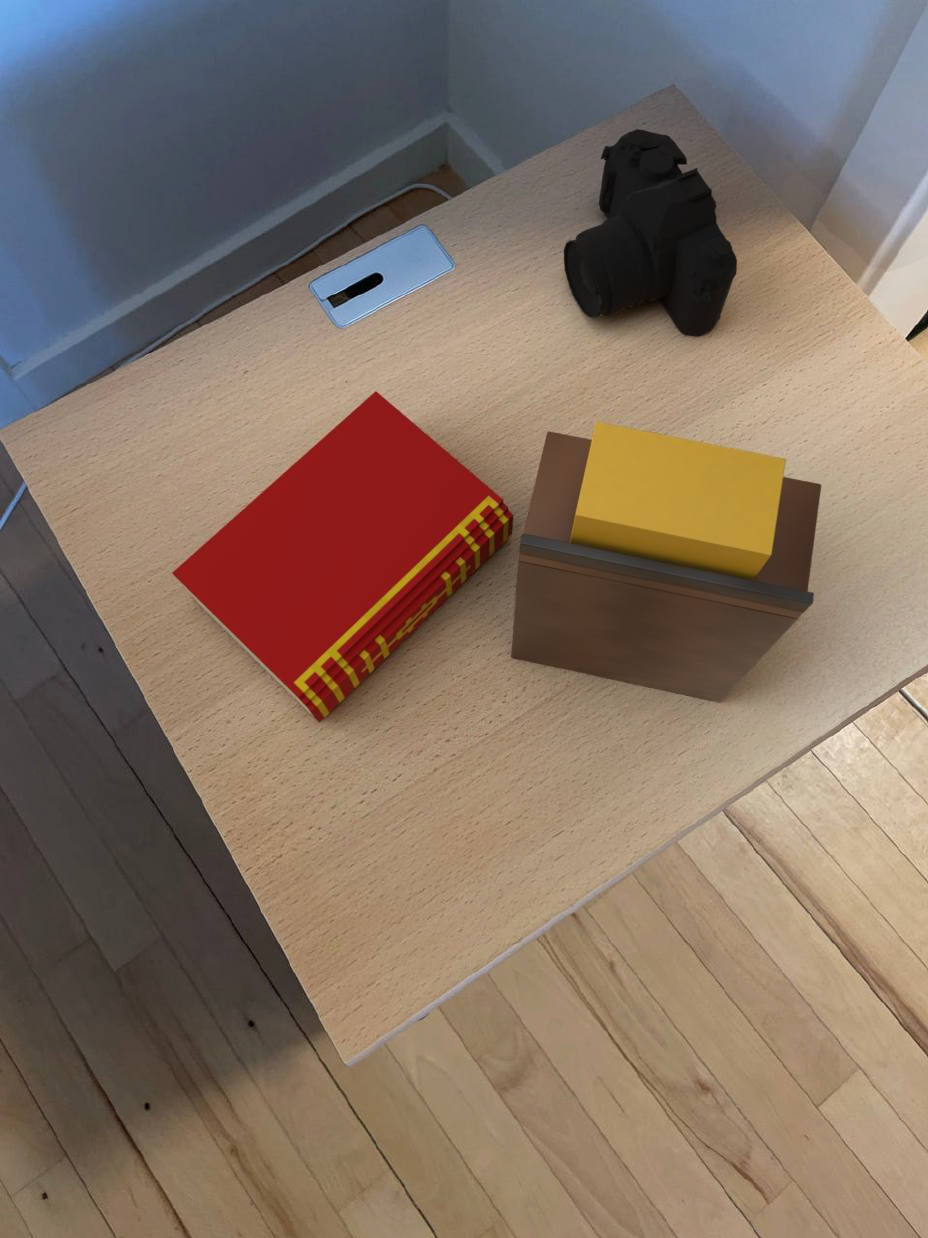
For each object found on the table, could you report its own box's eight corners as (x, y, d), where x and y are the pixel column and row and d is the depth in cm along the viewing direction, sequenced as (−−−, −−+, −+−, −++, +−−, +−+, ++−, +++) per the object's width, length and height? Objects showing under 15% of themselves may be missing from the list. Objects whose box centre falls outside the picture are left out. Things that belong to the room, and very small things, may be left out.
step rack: (748, 525, 68) (829, 392, 52) (720, 703, 64) (799, 619, 48) (550, 485, 69) (568, 343, 53) (510, 657, 65) (518, 561, 49)
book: (321, 726, 64) (308, 707, 59) (194, 599, 67) (171, 572, 62) (511, 539, 68) (513, 508, 63) (383, 428, 71) (375, 390, 66)
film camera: (529, 228, 77) (534, 137, 68) (639, 184, 78) (657, 89, 69) (619, 380, 72) (637, 303, 63) (735, 331, 73) (768, 249, 65)
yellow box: (588, 456, 50) (596, 420, 47) (766, 491, 49) (786, 458, 46) (569, 544, 48) (575, 514, 45) (752, 583, 48) (771, 555, 44)
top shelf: (815, 492, 50) (830, 472, 48) (799, 619, 48) (813, 603, 46) (546, 439, 51) (548, 418, 49) (518, 561, 49) (519, 543, 47)
